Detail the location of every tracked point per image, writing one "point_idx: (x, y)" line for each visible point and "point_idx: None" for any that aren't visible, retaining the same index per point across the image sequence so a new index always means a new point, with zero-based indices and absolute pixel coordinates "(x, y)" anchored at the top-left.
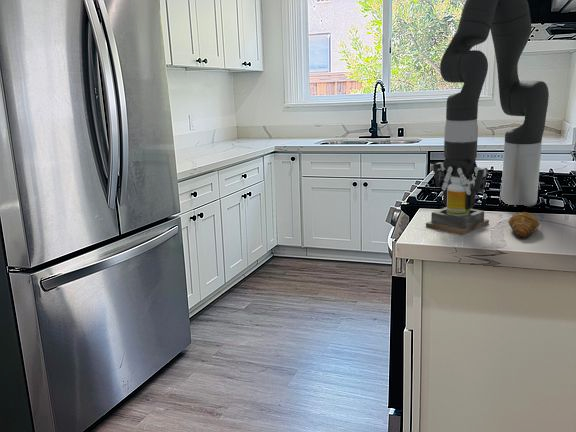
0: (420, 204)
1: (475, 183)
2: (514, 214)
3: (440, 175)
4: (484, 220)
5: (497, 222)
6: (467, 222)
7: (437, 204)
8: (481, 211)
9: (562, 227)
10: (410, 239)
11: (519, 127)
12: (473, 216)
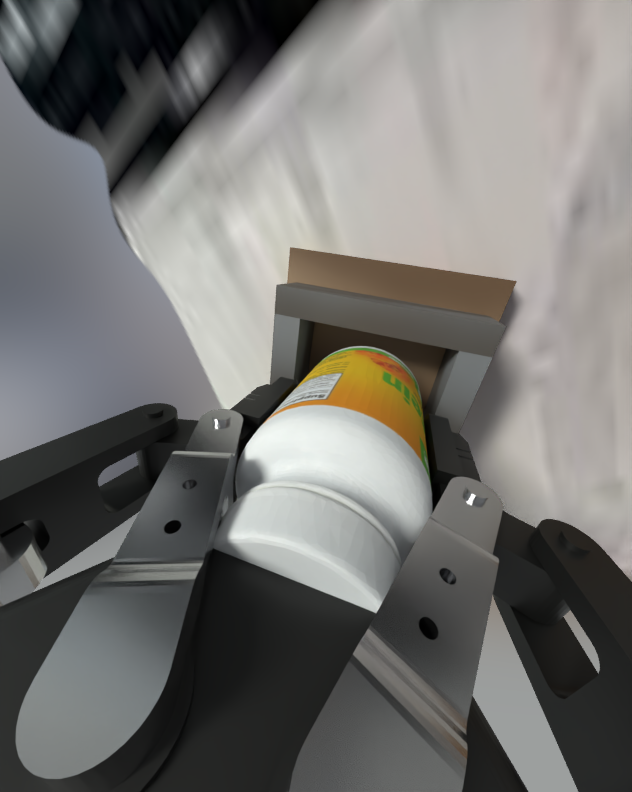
0: (71, 135)
1: (548, 706)
2: None
3: (91, 518)
4: (491, 305)
5: (561, 219)
6: None
7: (114, 56)
8: (488, 341)
9: None
10: None
11: None
12: (457, 430)
